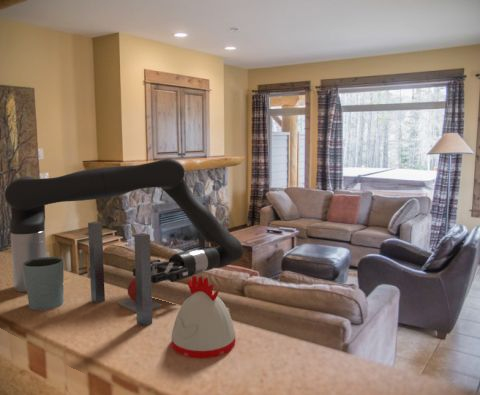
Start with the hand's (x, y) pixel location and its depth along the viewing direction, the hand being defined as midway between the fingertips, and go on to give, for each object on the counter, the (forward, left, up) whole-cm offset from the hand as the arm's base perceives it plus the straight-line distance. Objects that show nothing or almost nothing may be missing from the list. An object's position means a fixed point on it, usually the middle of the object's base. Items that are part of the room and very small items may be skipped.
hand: (142, 276), depth 119 cm
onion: (0, -1, -7) cm, 8 cm away
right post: (+11, -7, -8) cm, 15 cm away
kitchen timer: (+29, -4, -8) cm, 30 cm away
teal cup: (-19, -18, -8) cm, 28 cm away
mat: (0, -1, -8) cm, 8 cm away
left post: (-11, -7, -8) cm, 15 cm away
